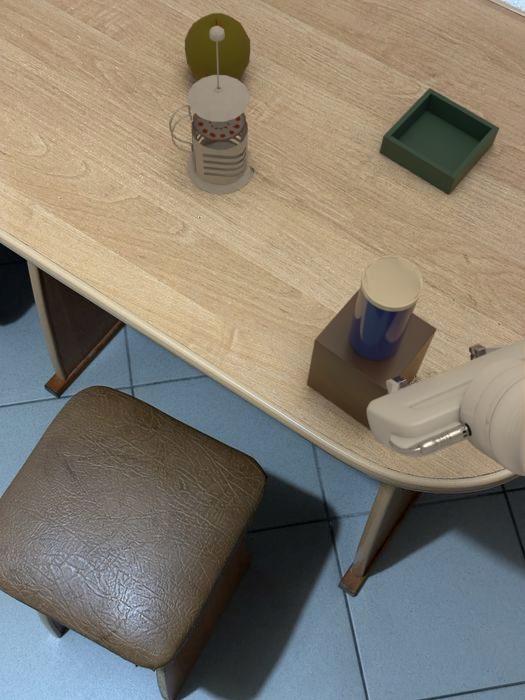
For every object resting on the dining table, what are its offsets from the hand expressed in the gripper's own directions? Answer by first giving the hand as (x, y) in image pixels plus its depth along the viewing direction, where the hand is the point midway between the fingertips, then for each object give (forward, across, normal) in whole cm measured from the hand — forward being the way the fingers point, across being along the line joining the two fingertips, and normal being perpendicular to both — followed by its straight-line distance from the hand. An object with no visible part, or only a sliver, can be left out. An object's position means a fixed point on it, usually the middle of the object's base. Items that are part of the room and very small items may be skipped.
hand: (435, 368), depth 84 cm
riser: (+21, 0, -8) cm, 23 cm away
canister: (+12, -1, 0) cm, 12 cm away
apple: (+60, +2, +31) cm, 67 cm away
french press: (+48, -5, +19) cm, 52 cm away
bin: (+41, +26, +12) cm, 51 cm away
